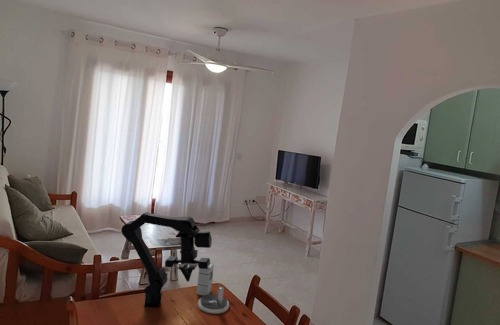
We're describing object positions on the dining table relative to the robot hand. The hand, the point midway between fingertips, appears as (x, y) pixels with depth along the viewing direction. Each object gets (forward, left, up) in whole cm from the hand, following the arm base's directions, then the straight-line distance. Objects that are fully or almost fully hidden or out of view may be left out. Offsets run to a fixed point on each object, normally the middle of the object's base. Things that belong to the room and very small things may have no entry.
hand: (188, 281), depth 165 cm
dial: (+12, +4, -11) cm, 17 cm away
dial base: (+12, +4, -13) cm, 18 cm away
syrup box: (+7, +16, -13) cm, 22 cm away
